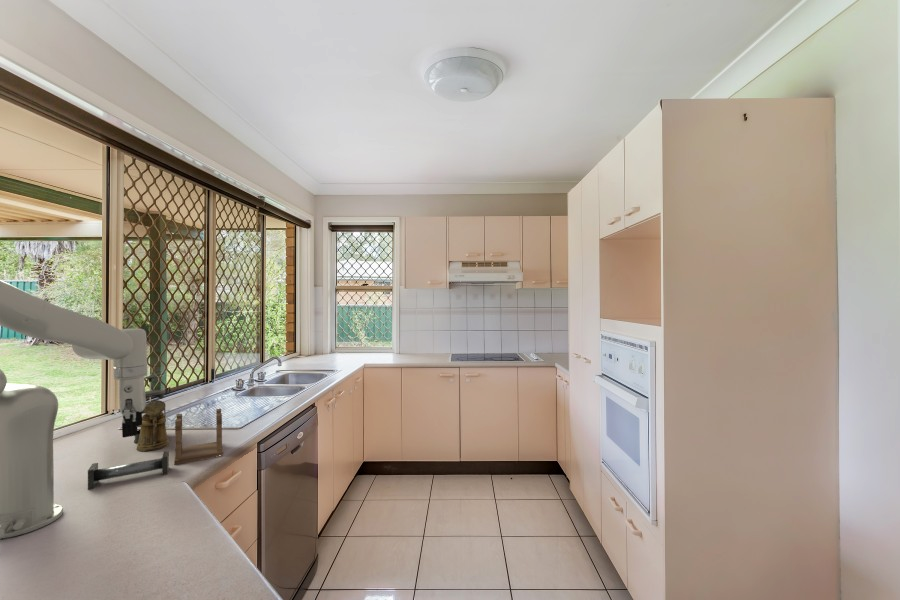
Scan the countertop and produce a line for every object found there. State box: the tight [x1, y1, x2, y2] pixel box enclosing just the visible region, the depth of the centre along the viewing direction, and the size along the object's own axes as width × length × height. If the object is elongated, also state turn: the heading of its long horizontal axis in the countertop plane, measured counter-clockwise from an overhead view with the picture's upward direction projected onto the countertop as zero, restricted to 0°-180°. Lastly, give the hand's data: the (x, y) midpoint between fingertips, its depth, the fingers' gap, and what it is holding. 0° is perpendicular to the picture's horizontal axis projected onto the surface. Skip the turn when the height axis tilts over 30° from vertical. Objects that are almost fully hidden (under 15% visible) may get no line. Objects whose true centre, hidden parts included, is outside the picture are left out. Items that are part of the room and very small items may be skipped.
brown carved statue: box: [136, 399, 170, 452], centre depth 134 cm, size 9×14×18 cm, turn 41°
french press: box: [133, 375, 166, 445], centre depth 143 cm, size 12×9×23 cm
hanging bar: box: [87, 450, 170, 490], centre depth 112 cm, size 5×17×5 cm, turn 122°
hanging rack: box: [173, 408, 224, 466], centre depth 129 cm, size 12×13×13 cm
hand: (132, 430), depth 113 cm, fingers open, 9 cm apart
